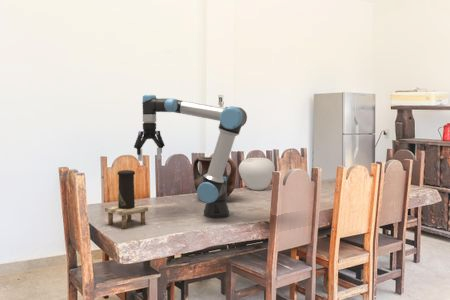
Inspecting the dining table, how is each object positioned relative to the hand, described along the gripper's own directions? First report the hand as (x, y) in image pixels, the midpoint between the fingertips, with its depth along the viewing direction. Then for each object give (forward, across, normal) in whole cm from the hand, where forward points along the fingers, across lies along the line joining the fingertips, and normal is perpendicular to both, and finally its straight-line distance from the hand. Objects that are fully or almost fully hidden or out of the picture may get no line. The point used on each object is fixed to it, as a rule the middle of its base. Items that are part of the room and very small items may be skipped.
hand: (149, 159), depth 250 cm
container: (+24, +20, +5) cm, 32 cm away
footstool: (+33, +20, +5) cm, 39 cm away
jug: (+33, -61, -6) cm, 70 cm away
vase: (+33, -117, -12) cm, 122 cm away
